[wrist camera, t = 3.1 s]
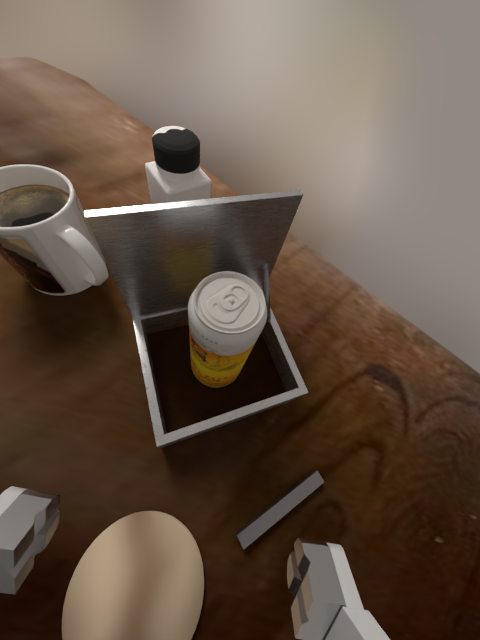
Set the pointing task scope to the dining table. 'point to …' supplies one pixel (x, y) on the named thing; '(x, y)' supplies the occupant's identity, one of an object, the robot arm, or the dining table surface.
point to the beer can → (224, 326)
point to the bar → (278, 509)
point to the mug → (47, 231)
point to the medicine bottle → (176, 167)
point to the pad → (137, 583)
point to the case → (196, 276)
